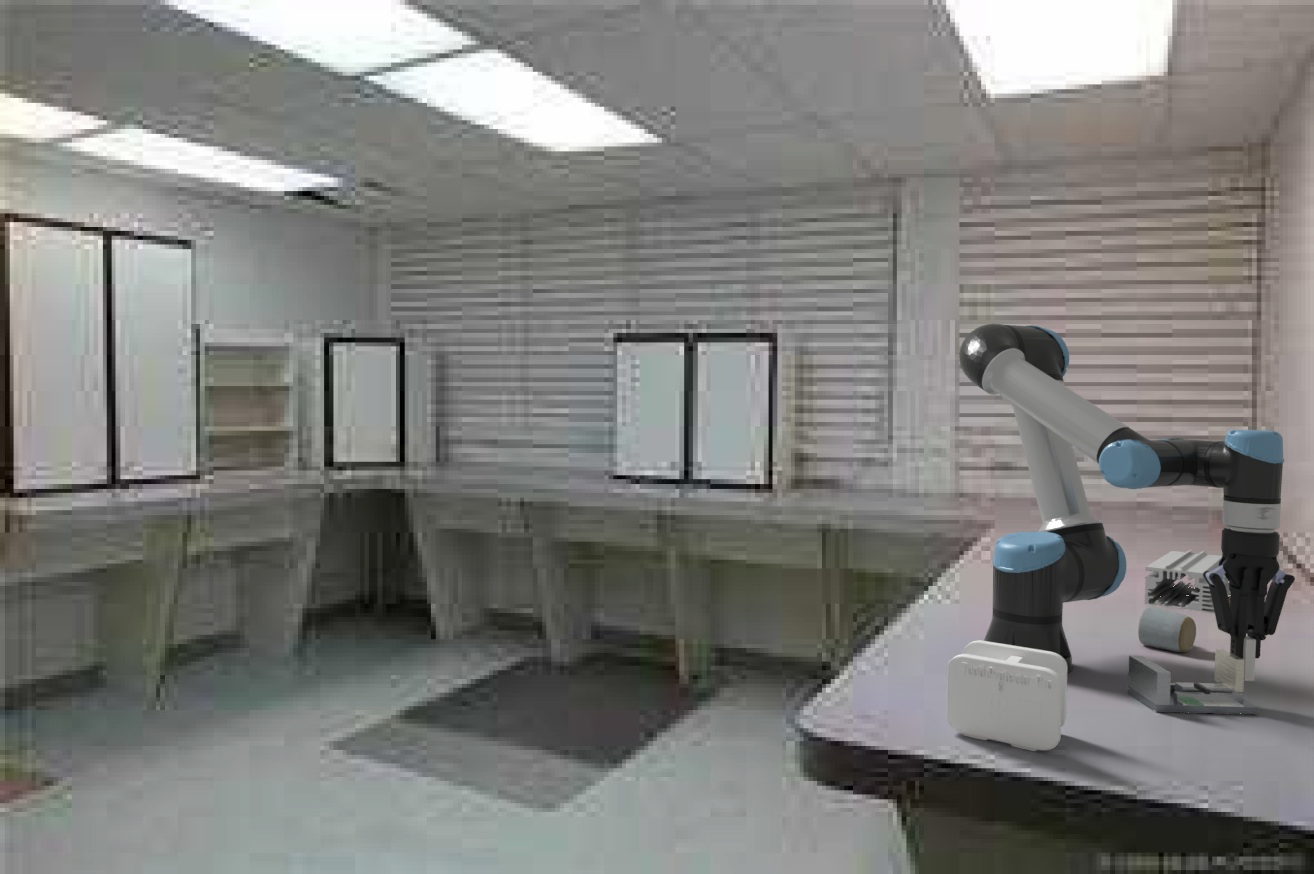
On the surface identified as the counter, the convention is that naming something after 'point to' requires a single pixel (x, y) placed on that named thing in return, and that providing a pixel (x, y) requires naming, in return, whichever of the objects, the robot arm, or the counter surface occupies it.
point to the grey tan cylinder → (1166, 630)
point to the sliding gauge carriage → (1220, 676)
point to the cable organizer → (1008, 694)
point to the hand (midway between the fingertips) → (1243, 677)
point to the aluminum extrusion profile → (1181, 566)
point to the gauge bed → (1160, 694)
